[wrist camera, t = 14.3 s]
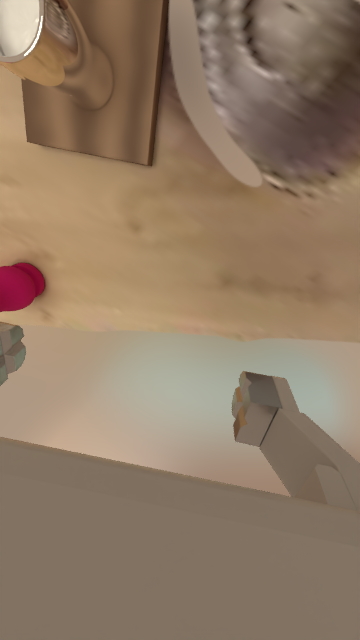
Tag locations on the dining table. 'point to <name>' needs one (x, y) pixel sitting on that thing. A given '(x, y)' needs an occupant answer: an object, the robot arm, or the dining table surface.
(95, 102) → the beer glass
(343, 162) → the dining table surface
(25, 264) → the pepper mill
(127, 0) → the walnut base
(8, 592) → the robot arm
